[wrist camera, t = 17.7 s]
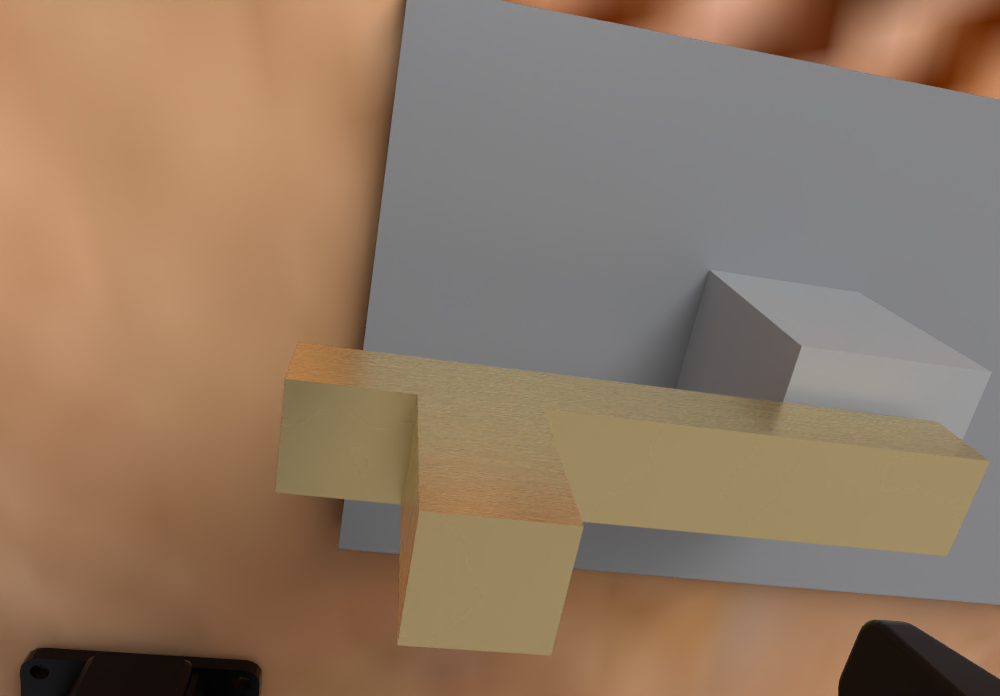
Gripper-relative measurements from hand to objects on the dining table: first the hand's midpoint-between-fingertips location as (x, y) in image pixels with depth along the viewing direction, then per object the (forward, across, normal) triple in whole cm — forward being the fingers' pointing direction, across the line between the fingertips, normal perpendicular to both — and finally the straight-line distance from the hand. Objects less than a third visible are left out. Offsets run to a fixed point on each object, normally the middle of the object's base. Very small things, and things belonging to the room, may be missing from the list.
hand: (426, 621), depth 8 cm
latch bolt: (+7, -4, +1) cm, 8 cm away
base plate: (+13, -11, +1) cm, 17 cm away
